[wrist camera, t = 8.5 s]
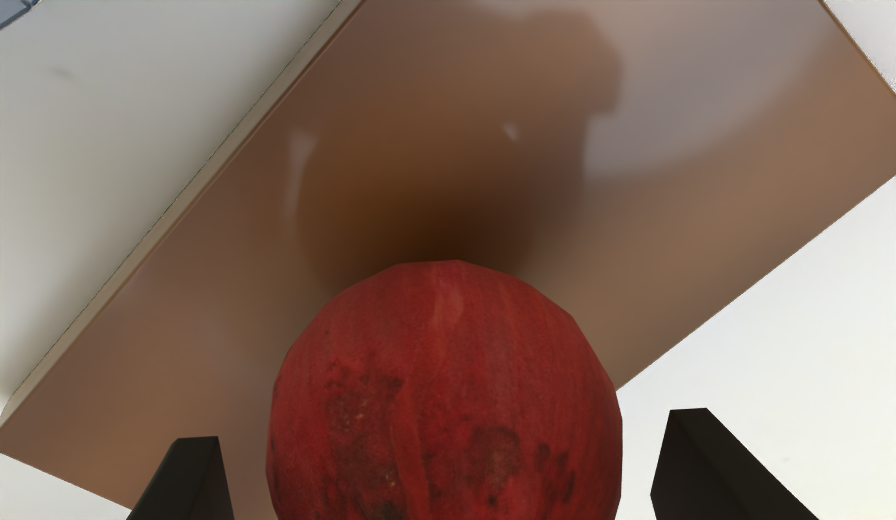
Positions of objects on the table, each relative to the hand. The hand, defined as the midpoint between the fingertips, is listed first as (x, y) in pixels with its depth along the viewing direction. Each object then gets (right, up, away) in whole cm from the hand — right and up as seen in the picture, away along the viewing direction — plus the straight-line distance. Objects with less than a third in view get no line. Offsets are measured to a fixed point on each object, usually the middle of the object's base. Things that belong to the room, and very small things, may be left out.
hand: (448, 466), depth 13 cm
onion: (0, +3, +4) cm, 4 cm away
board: (-1, +3, +5) cm, 6 cm away
